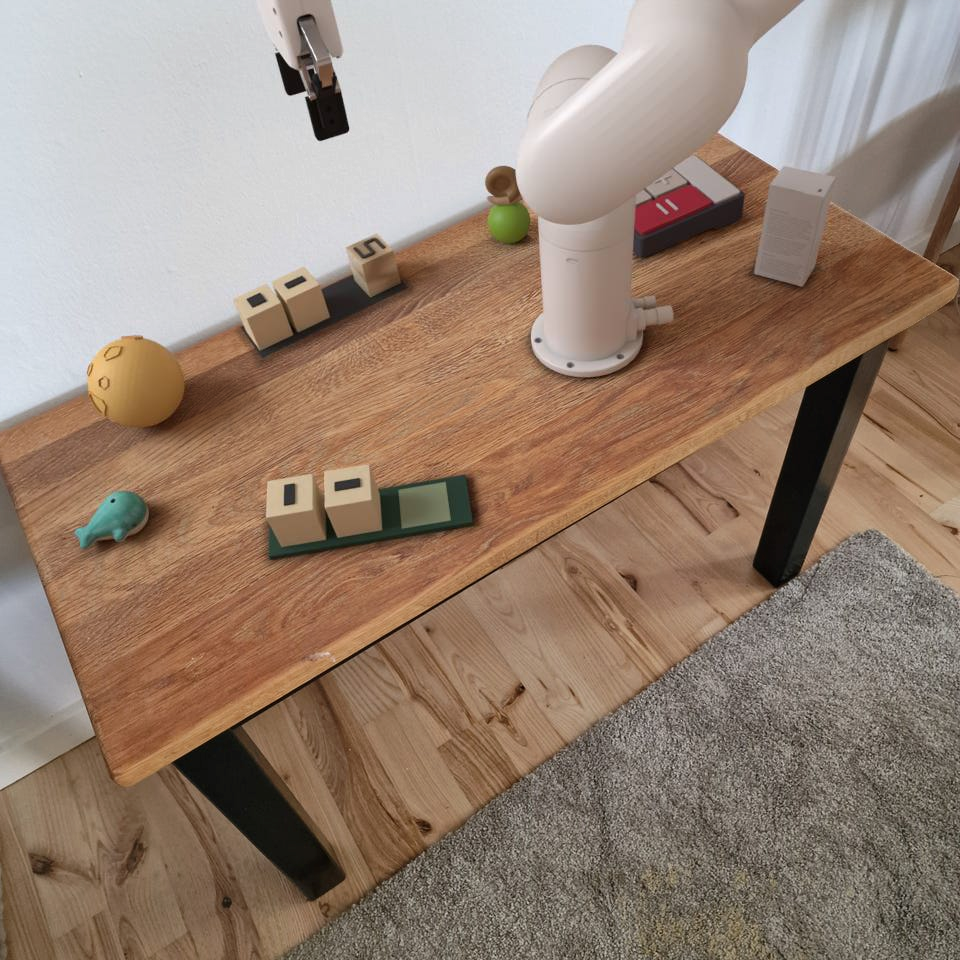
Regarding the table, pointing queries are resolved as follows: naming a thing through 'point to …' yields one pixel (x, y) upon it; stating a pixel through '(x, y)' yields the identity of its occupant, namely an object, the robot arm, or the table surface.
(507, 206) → the snail figurine
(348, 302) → the far word mat
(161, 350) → the stress ball
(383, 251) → the tile
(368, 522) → the mat
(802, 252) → the cosmetic box
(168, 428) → the table surface
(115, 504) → the whale figurine
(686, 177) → the calculator
